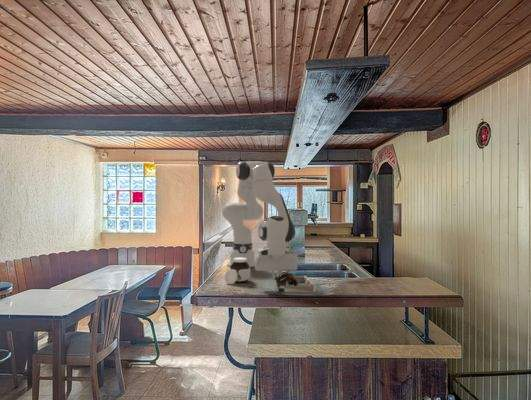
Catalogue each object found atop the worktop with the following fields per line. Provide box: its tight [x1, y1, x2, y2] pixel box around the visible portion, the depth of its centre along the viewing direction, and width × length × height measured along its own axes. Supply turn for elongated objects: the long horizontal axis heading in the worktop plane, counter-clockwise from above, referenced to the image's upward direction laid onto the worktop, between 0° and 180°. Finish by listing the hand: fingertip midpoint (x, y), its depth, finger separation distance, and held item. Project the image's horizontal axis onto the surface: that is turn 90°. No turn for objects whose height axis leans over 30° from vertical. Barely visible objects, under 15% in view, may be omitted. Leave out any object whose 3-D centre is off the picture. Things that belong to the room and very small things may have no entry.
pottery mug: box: [275, 272, 299, 289], centre depth 164 cm, size 12×10×8 cm
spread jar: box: [224, 257, 251, 285], centre depth 174 cm, size 12×11×12 cm
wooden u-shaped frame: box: [279, 274, 317, 293], centre depth 167 cm, size 20×15×3 cm
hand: (275, 279), depth 165 cm, fingers closed
